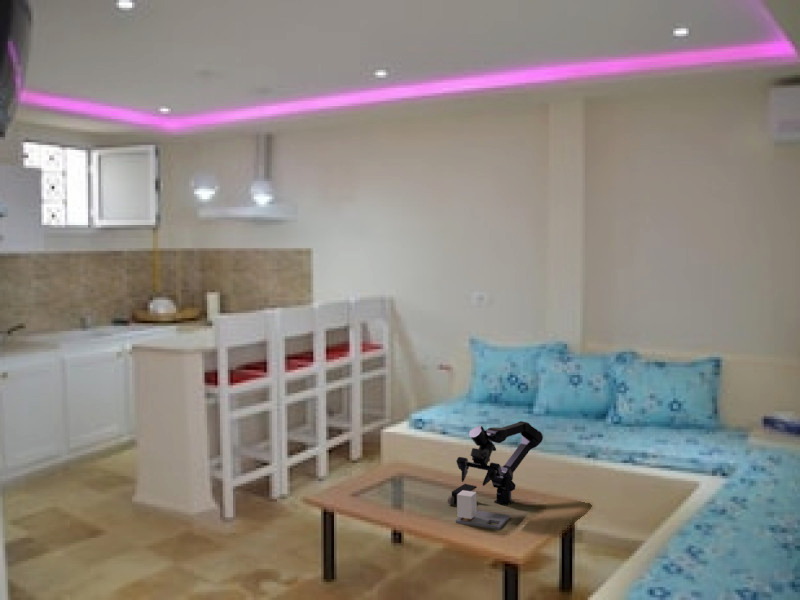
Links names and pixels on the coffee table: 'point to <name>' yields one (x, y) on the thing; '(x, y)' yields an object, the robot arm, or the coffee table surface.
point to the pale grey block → (466, 504)
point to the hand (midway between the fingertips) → (472, 483)
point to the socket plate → (485, 520)
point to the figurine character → (464, 487)
